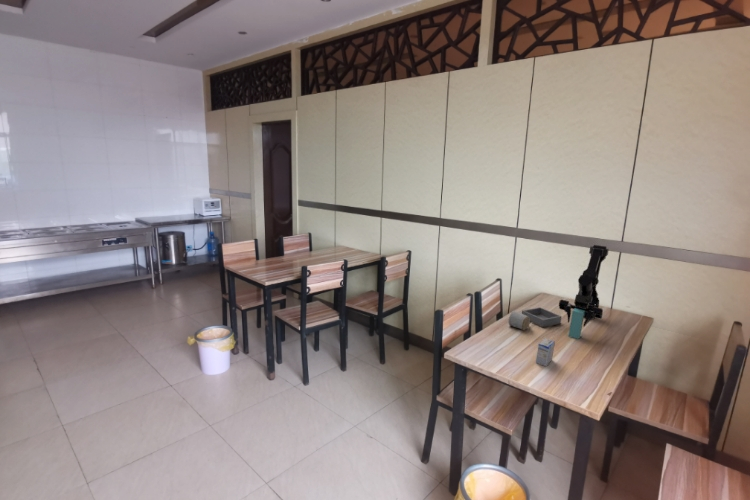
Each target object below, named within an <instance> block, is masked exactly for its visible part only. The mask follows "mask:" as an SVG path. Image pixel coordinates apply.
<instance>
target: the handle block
mask: <svg viewBox="0 0 750 500" xmlns="http://www.w3.org/2000/svg"><path fill="white" fill-rule="evenodd" d="M584 313H585V311H584V310H580V309H576V308H574V309H572V311H571V317H570V325H569V331H568V337H570V338H573V339H577V340H579V339H580V337H581V335H582V330H583V325H584V318H585V317H584Z"/></svg>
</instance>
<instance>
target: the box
mask: <svg viewBox="0 0 750 500" xmlns="http://www.w3.org/2000/svg"><path fill="white" fill-rule="evenodd" d="M521 314H524V315H526V316H528V317H529V318H530V323H532V324H534V325H535V326H538V327H541V328H547V327H551V326H554V325H555V326H556V325H560V324H561V322H562V317H563V316H562V315H560V314H557V313H555V312H553V311H550V310H547V309H545V308H543V307H540V306H539V307H533V308H529V309H522V310H521Z"/></svg>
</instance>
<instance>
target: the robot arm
mask: <svg viewBox="0 0 750 500" xmlns="http://www.w3.org/2000/svg"><path fill="white" fill-rule="evenodd" d="M588 254H590V258H589V262H588V264H587V268H586V269H585V270H583V271H582V274H581V275H580V276H579V278H578V279H577V280H578V281H577V282H578V292H577V294H576V295H575V298H574V302H573V303H574V304H572V303H570V301H569V300H566V299H560V300H559V302H558V309H560V310H561V311H564V312H565V313H566V315H567V323H570V322H571V317H572V310H574V308H576V309H580V310H584V311H585V313H584V318H585V320H584V321H583V324H582V327H585V326H587V324H588V323H589V322H590V321H592V320H595V319H602V318H603V313H604V310H603V308H601V307H600V299H599V298H600V297H599V294H598V291H597V285H599V282H600V281H599V276H600V270H601V266H602V262H603V261H605V260H606V258H607V256H609V248H607V245H606V246H605V245H598V244H593V246H590V247H589V252H588Z"/></svg>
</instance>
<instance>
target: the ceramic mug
mask: <svg viewBox="0 0 750 500" xmlns="http://www.w3.org/2000/svg"><path fill="white" fill-rule="evenodd" d="M530 323H531V322H530V318H529V317H528V316H526V315H524V314H522V312H519V311H516V310H513V311H512V312H511V313H510V314H509V317H508V325H509V326H511V327H513V328H515V329H516V328H517V329H519V330H522V331H525V330H527V329H528V328H529V327H530Z"/></svg>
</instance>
